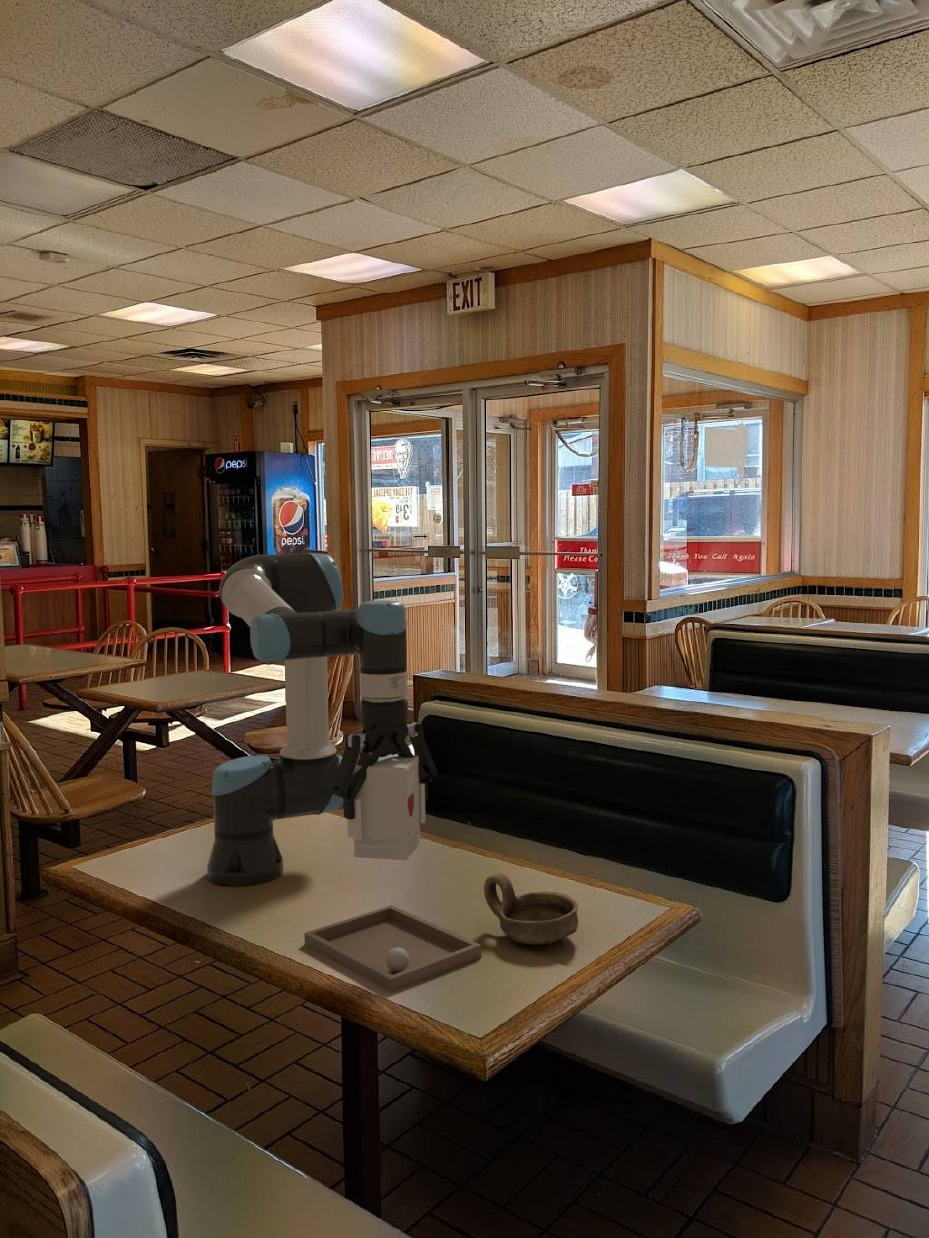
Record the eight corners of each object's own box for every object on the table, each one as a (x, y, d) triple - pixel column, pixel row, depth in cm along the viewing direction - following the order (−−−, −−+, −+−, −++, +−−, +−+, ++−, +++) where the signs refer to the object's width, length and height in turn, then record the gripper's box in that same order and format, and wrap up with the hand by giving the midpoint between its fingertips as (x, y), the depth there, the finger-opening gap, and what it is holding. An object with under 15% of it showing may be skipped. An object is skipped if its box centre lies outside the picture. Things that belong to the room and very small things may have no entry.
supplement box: (407, 861, 158) (405, 767, 157) (353, 858, 160) (350, 766, 159) (422, 843, 167) (420, 754, 166) (369, 840, 169) (367, 752, 168)
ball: (381, 970, 157) (380, 948, 157) (400, 963, 160) (399, 941, 159) (395, 978, 154) (394, 955, 154) (414, 971, 157) (413, 948, 156)
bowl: (553, 964, 160) (552, 903, 159) (464, 939, 170) (463, 882, 169) (596, 935, 171) (595, 878, 170) (510, 913, 181) (509, 859, 180)
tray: (304, 947, 168) (304, 933, 168) (391, 918, 180) (391, 905, 180) (391, 995, 150) (391, 979, 150) (481, 959, 162) (481, 944, 162)
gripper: (333, 711, 150) (337, 851, 153) (457, 691, 166) (459, 818, 168) (306, 704, 156) (310, 840, 158) (428, 686, 172) (431, 809, 174)
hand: (387, 829), depth 163 cm, fingers closed on supplement box, 12 cm apart
